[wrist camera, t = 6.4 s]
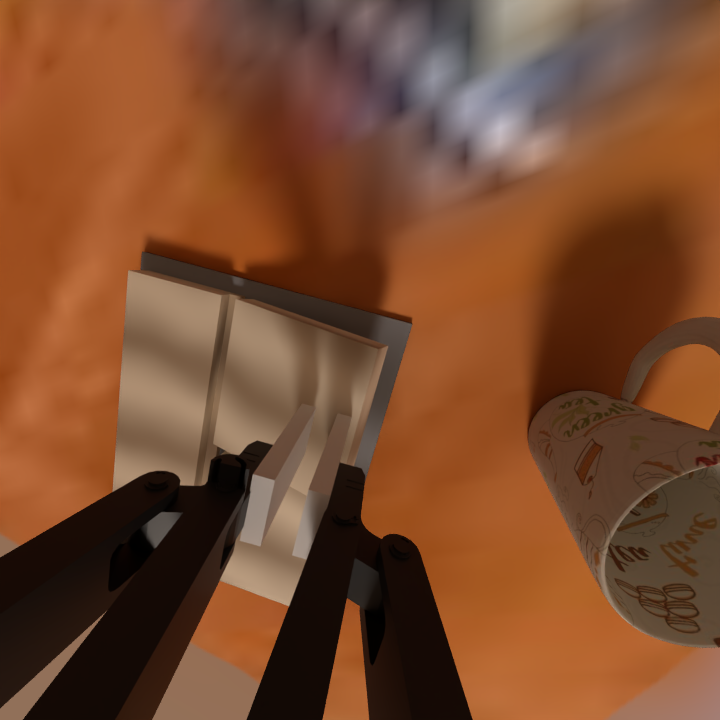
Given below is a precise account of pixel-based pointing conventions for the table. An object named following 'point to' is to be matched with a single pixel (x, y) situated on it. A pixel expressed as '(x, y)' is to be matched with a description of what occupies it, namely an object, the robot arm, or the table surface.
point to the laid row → (209, 364)
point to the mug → (641, 497)
